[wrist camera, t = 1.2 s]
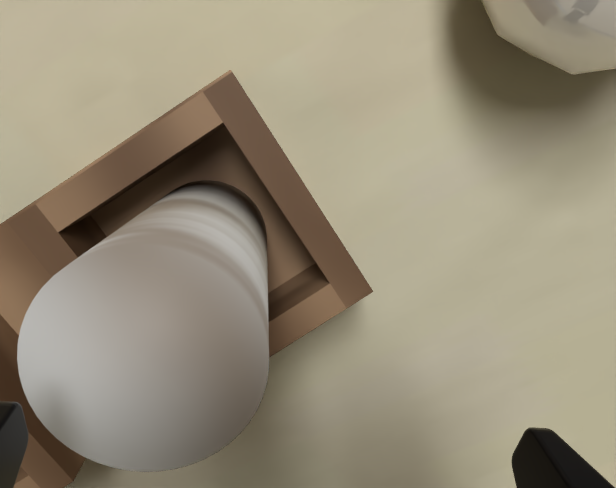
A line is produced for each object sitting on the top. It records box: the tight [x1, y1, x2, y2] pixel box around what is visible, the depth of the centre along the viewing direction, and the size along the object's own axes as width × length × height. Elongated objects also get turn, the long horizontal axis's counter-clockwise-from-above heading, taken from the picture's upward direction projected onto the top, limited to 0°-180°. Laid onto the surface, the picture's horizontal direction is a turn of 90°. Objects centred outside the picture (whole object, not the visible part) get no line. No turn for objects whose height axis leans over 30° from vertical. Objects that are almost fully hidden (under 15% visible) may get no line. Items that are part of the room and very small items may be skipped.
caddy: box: [0, 70, 373, 488], centre depth 17 cm, size 23×10×13 cm, turn 123°
